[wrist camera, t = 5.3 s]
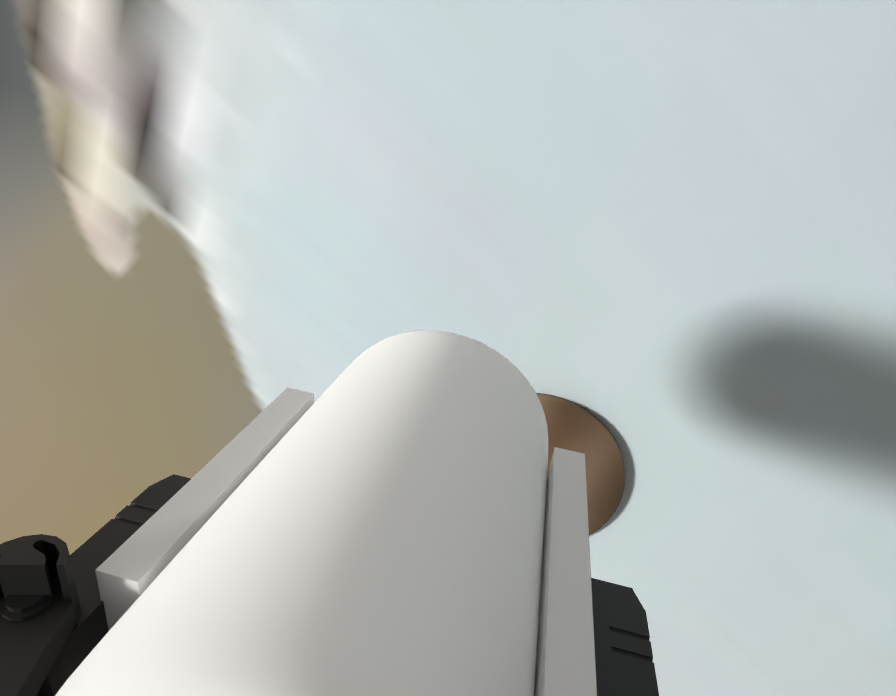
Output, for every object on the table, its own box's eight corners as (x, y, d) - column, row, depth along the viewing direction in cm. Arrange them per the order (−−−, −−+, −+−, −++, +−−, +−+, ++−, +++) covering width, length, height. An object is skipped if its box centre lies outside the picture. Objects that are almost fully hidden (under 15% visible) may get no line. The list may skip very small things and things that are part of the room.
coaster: (644, 414, 29) (645, 419, 28) (600, 556, 33) (600, 563, 32) (460, 376, 30) (458, 381, 29) (439, 517, 34) (437, 524, 33)
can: (312, 338, 16) (-227, 794, 5) (531, 309, 14) (415, 898, 3) (368, 516, 18) (71, 1100, 7) (563, 509, 16) (554, 1256, 6)
